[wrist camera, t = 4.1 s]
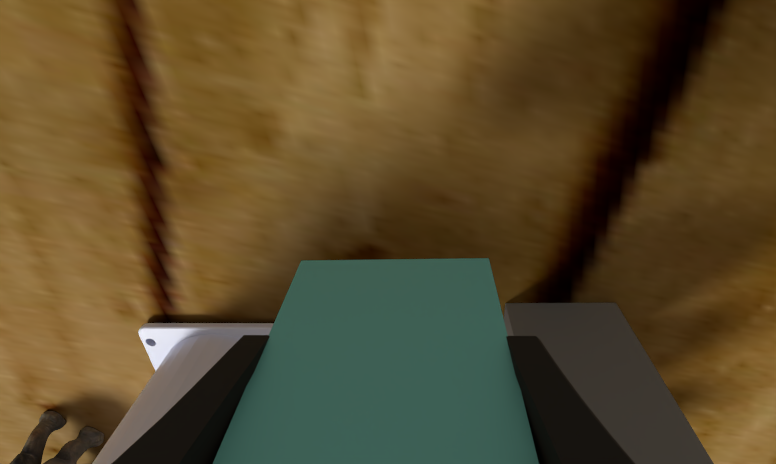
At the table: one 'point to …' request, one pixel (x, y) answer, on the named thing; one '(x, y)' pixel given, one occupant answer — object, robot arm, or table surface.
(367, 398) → the teal domino
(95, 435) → the rhino figurine
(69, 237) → the table surface
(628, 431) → the grey domino block
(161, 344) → the robot arm
